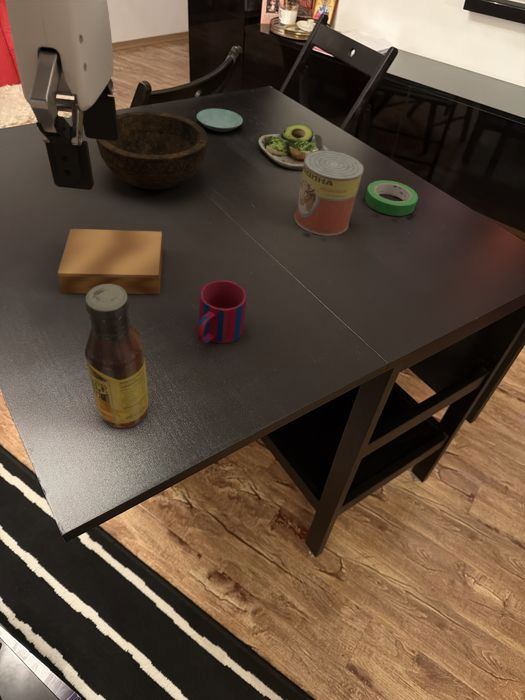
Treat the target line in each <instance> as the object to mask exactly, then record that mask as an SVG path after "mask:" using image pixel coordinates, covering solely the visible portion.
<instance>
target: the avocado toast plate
mask: <svg viewBox="0 0 525 700" xmlns="http://www.w3.org/2000/svg"><path fill="white" fill-rule="evenodd" d="M322 141H323V139H322V136H321V135H319V134H316V133H315V134H314V131H313V129H312V128H311V127H310V126H309V125H307V124H302V123H295V124H290V125H287V126H286V128H283V132H282V133H270V134H264V135H262V136H260V137H259V139H258V140H257V144H258V148H259V150H260V151H261V152H262V153H264V154H265V155H266V156H267V157H268V158H269V159H270V160H272V161H273V162H275V164H278V165H279V166H280V167H282V168H286V169H289V170H295V171H303V167H304V159H305V156H306V155H307V154H309V153H311V152H314V151H319V150H329V148H328V147H326V146H325V145H324V144H323V142H322Z"/></svg>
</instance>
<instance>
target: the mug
mask: <svg viewBox="0 0 525 700" xmlns="http://www.w3.org/2000/svg"><path fill="white" fill-rule="evenodd" d="M247 299H248V294H247V292H246V290H245V288H244V287H243V286H242V285H240V284H239V283H237V282H236V281H231V280H227V279H216V280H212V281H209V282H207V283H205V284H204V285H203V286H202V288H201V289H200V291H199V322H198V324H197V328H196V329H197V330H196V338H197V341H198V342H200V343H201V344H208V343H209V342H212V343H214V344H230V343H233V342H235V341H237V340H238V339H239V338H240V337H241V336H243V332H244V325H245V316H246V310H247V309H246V308H247Z"/></svg>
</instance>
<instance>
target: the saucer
mask: <svg viewBox="0 0 525 700" xmlns="http://www.w3.org/2000/svg"><path fill="white" fill-rule="evenodd" d="M196 119H197V121H198V122H199V123H200V124H201V125H202V126H203V127H205V128H207V129H208V130H211V131H213V132H218V133H225V132H231V131H233V130H235V129H237V128H239V127H240V126H241V125H242V124H243V122H244V119H243V117H242V116H241V115H240V114H238V113H237V112H235V111H232V110H229V109H224V108H205V109H202V110H200V111H199V112H198V113H197V114H196Z"/></svg>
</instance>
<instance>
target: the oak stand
mask: <svg viewBox="0 0 525 700" xmlns="http://www.w3.org/2000/svg"><path fill="white" fill-rule="evenodd" d="M163 248H164V246H163V231H154V230H153V231H152V230H123V229H121V230H120V229H92V228H70V230H69V233H68V235H67V240H66V243H65V247H64V250H63V254H62V256H61V260H60V263H59V266H58V270H57V276H58V280H59V284H60V289H61V292H62V294H83V295H84V294H85V295H87V293H88V292H89V291H90V290H91V289H92V288H93V287H96V286H98V285H101V284H114V285H117V286H120V287H122V288H123V289H124V290H125V291H126V293H127V295H161V286H162V273H163V271H162V270H163V255H164V254H163V253H164V249H163Z"/></svg>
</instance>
